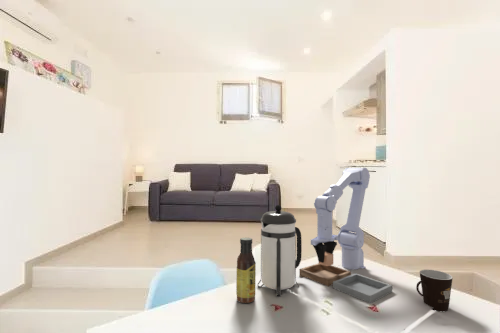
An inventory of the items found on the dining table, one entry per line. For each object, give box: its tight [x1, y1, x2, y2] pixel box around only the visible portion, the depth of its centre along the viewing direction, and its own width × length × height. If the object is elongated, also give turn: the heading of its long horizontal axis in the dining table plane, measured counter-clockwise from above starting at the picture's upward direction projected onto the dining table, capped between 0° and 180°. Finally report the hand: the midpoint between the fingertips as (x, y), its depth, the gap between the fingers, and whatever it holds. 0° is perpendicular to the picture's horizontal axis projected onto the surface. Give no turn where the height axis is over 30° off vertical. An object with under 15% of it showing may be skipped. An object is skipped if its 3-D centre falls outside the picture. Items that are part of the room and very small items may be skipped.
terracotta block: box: [318, 252, 334, 266], centre depth 110 cm, size 4×4×4 cm
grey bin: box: [332, 272, 393, 304], centre depth 98 cm, size 14×14×3 cm
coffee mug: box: [416, 269, 453, 312], centre depth 88 cm, size 12×9×10 cm
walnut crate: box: [299, 262, 352, 287], centre depth 110 cm, size 14×14×3 cm
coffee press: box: [257, 204, 303, 297], centre depth 102 cm, size 17×16×30 cm
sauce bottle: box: [235, 237, 257, 304], centre depth 92 cm, size 7×6×20 cm
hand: (324, 260), depth 110 cm, fingers closed on terracotta block, 4 cm apart
